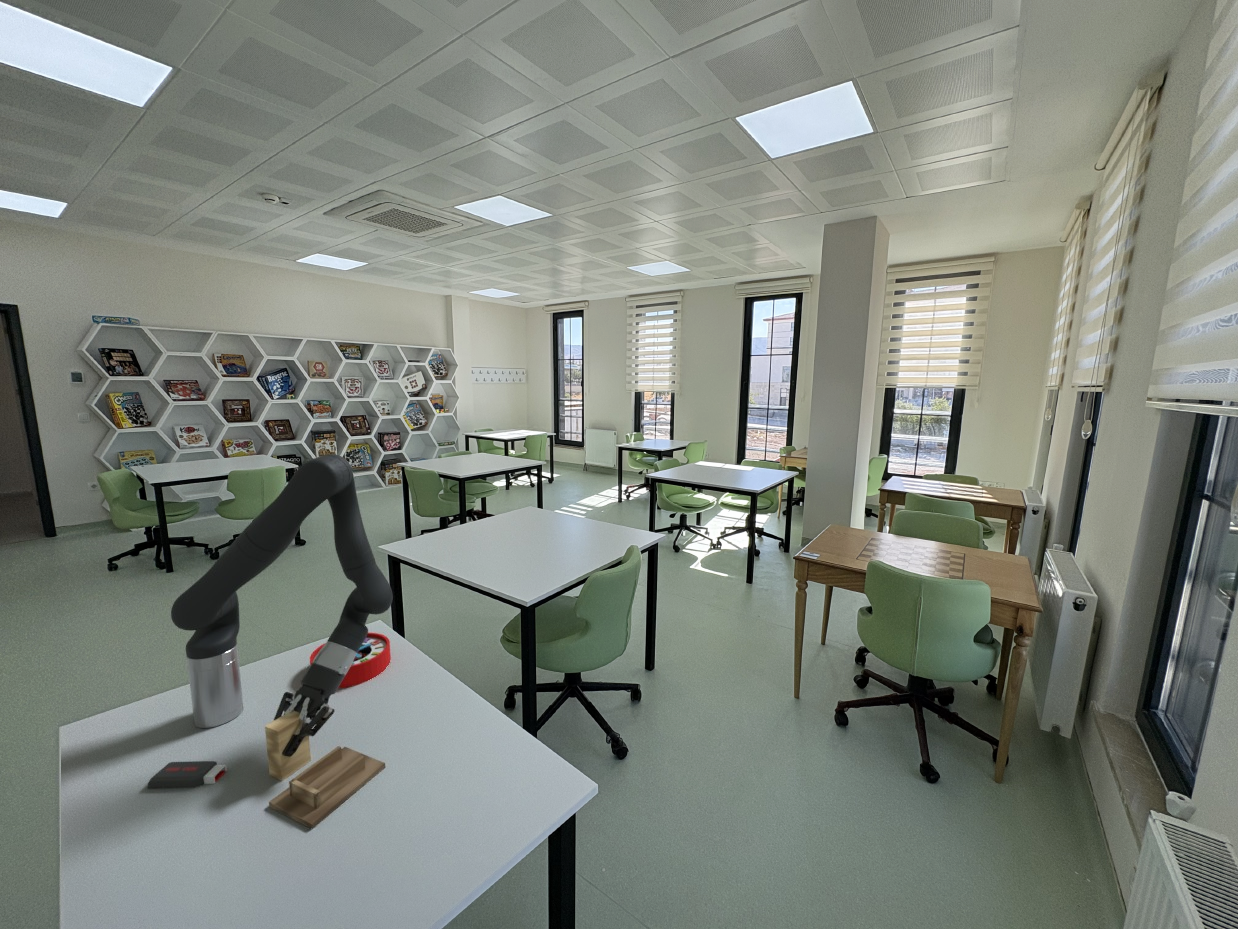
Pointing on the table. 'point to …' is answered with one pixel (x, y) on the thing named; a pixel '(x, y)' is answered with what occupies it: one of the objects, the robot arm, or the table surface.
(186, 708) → the table surface
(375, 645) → the toy clock
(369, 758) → the groove board
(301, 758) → the oak plank
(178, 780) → the usb drive
